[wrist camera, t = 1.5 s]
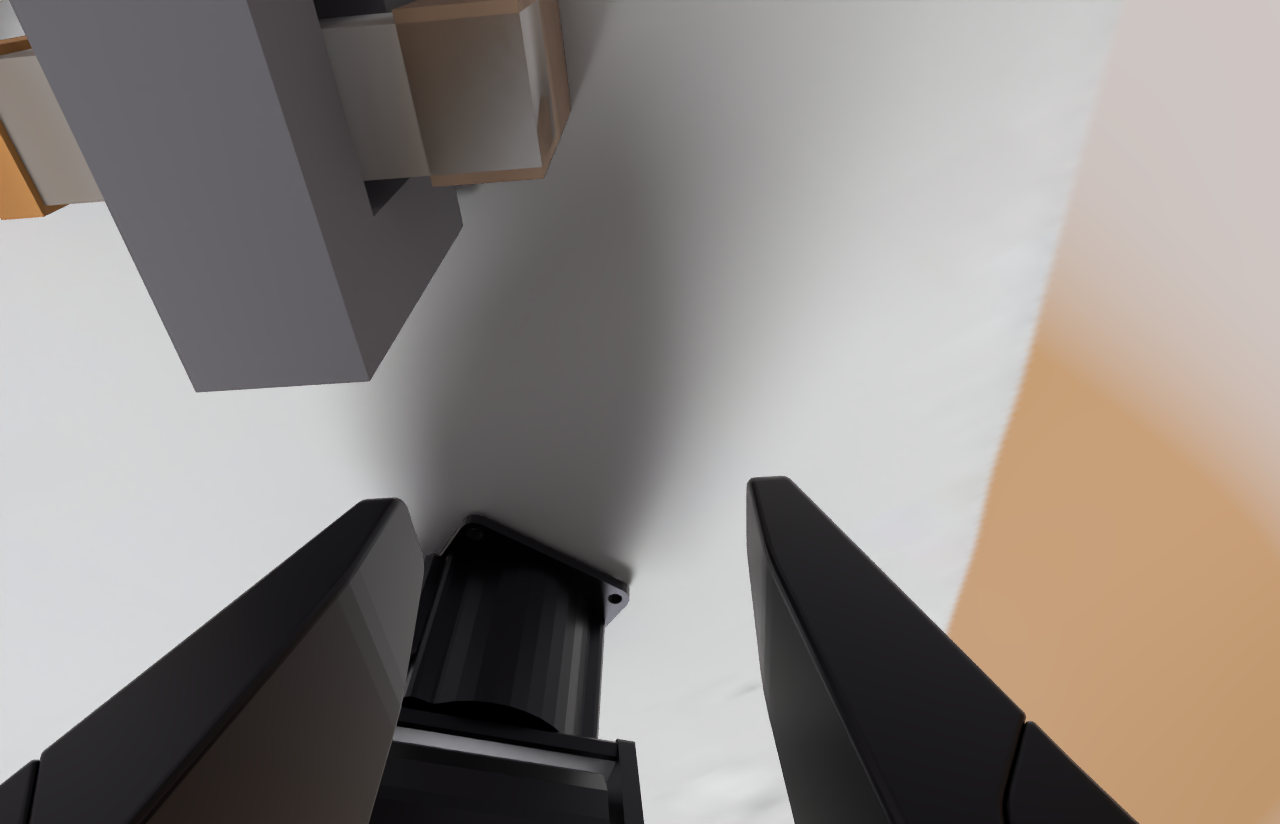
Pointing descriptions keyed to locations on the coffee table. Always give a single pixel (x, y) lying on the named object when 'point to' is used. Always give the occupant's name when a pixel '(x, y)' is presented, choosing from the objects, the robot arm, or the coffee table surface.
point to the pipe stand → (356, 101)
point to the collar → (243, 182)
